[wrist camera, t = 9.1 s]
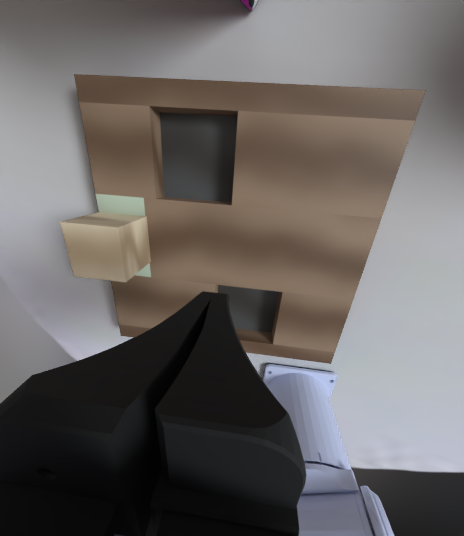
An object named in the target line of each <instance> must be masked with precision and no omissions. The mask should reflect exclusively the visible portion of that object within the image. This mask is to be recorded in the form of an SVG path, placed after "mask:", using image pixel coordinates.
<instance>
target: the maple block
mask: <svg viewBox="0 0 464 536" xmlns="http://www.w3.org/2000/svg"><path fill="white" fill-rule="evenodd" d="M60 224H61V228H62V232H63V236H64V240H65V243H66V247H67V251H68V255H69V259H70V263H71V267H72V271H73V275H74V276H76V277H85V278H93V279H102V280H110V281H119V282H127V281H128V280H129V279H131V278H132V277H133V276H134V275H135V274H137V273H138V272H139V271H140V270H141V269H143V268H144V267H145V266H146V265H147V264H149V263H150V262H151V258H150V247H149V236H148V225H147V216H138V215H127V214H116V213H106V212H98V213H94V214H90V215H86V216H82V217H78V218H74V219H70V220H66V221H62V222H60Z"/></svg>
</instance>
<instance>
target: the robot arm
mask: <svg viewBox="0 0 464 536" xmlns="http://www.w3.org/2000/svg"><path fill="white" fill-rule="evenodd" d="M229 299H230V296H229V295H228V294H223V293H214V292H205V291H202V292H201V293H200V294H198V295H197V296H196V297H195V298H193V299H192V300H191V301H190V302H189V303H187V304H186V305H185V306H184V307H182V308H181V309H180V310H178V311H177V312H176V313H174V314H173V315H171V316H170V317H169V318H167V319H166V320H164V321H163V322H161V323H160V324H158V325H156V326H155V327H153V328H151V329H149V330H148V331H146V332H144V333H142V334H140V335H138V336H137V337H134V338H132V339H130V340H128V341H126V342H124V343H122V344H119V345H117V346H115V347H113V348H111V349H108V350H106V351H103V352H101V353H98V354H96V355H93V356H90V357H88V358H85V359H82V360H79V361H76V362H74V363H70V364H67V365H64V366H61V367H58V368H54V369H52V370H48V371H45V372H42V373H38V374H35V375H32V376H31V377H30V378H29V379H27V380H26V381H25V382H24V383H23V384H22V385H21V386H20V387H19V388H17V389H16V390H15V391H14V392H13V393H12V394H11V395H10V396H8V397H7V398H6V399H5V400H4V401H3V402H2V403H1V404H0V536H394V534H393V532H392V529H391V526H390V524H389V521H388V518H387V516H386V513H385V511H384V509H383V506H382V504H381V501H380V499H379V497H378V496H377V495H376V494H374V492H372V491H370V489H369V487H368V486H361V490H362V494H363V497H364V500H365V503H366V504H365V506H366V509H367V512H368V515H367V513H366V509H365V506H364V503H363V500H362V497H361V494H360V491H359V488H358V485H357V482H356V479H355V477H354V474H353V471H352V470H351V466H350V463H349V460H348V457H347V454H346V451H345V447H344V444H343V441H342V438H341V435H340V432H339V429H338V425H337V422H336V419H335V416H334V413H333V410H332V406H331V403H330V400H329V399H330V396H331V394H332V391H333V388H334V386H335V383H336V380H337V375H336V374H335V373H333V372H326V371H319V370H311V369H304V368H297V367H289V366H282V365H275V364H267V365H266V367H265V373H264V378H263V380H262V379H261V377H260V376H259V374H258V373H257V371H256V369H255V368H254V366H253V365H252V363H251V361H250V360H249V358H248V356H247V354H246V352H245V351H244V349H243V346H242V344H241V342H240V340H239V338H238V335H237V333H236V330H235V327H234V324H233V321H232V317H231V313H230V308H229ZM269 371H270V372H269ZM368 516H369V518H368ZM369 519H370V522H371V525H372V528H371V525H370V522H369Z"/></svg>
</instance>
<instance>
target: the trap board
mask: <svg viewBox="0 0 464 536" xmlns="http://www.w3.org/2000/svg"><path fill="white" fill-rule="evenodd" d="M74 76H75V82H76V87H77V93H78V99H79V104H80V110H81V115H82V121H83V127H84V132H85V138H86V143H87V149H88V154H89V160H90V166H91V171H92V177H93V182H94V188H95V194H96V199H97V205H98V210H99V212H106V213H116V214H127V215H138V216H147V225H148V236H149V247H150V258H151V262H150V263H149V264H147V265H146V266H145V267H144V268H143V269H141V270H140V271H139V272H138V273H137V274H135V275H134V276H133V277H132V278H131V279H129V280H128V281H127V282H119V281H111V283H112V289H113V294H114V300H115V305H116V311H117V316H118V322H119V328H120V333H121V336H127V337H137V336H138V335H140V334H142V333H144V332H146V331H148V330H149V329H151V328H153V327H155V326H156V325H158V324H160V323H161V322H163V321H164V320H166V319H167V318H169V317H170V316H171V315H173V314H174V313H176V312H177V311H178V310H180V309H181V308H182V307H184V306H185V305H186V304H187V303H189V302H190V301H191V300H192V299H193V298H195V297H196V296H197V295H198V294H200V293H201V292H202V291H205V292H214V293H223V294H228V295H229V296H230V299H229V308H230V313H231V317H232V321H233V324H234V327H235V330H236V333H237V335H238V338H239V340H240V342H241V344H242V346H243V349H244V351H245V352H247V353H255V354H262V355H270V356H277V357H285V358H292V359H300V360H307V361H315V362H322V363H330V364H331V362H332V359H333V356H334V353H335V350H336V347H337V345H338V342H339V339H340V336H341V333H342V330H343V327H344V324H345V321H346V319H347V316H348V313H349V310H350V307H351V304H352V301H353V298H354V296H355V293H356V290H357V287H358V284H359V281H360V278H361V275H362V273H363V270H364V267H365V264H366V261H367V258H368V255H369V252H370V249H371V247H372V244H373V241H374V238H375V235H376V232H377V229H378V226H379V224H380V221H381V218H382V215H383V212H384V209H385V206H386V203H387V201H388V198H389V195H390V192H391V189H392V186H393V183H394V180H395V178H396V175H397V172H398V169H399V166H400V163H401V160H402V157H403V154H404V152H405V149H406V146H407V143H408V140H409V137H410V134H411V131H412V129H413V126H414V123H415V120H416V117H417V114H418V111H419V108H420V106H421V103H422V100H423V97H424V94H425V91H426V90H405V89H383V88H361V87H340V86H318V85H296V84H274V83H252V82H231V81H209V80H187V79H165V78H144V77H122V76H100V75H78V74H74Z"/></svg>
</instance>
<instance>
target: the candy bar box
mask: <svg viewBox="0 0 464 536" xmlns="http://www.w3.org/2000/svg"><path fill="white" fill-rule="evenodd" d="M240 1H241V2H242V3H243V4H244V5H245V6H246V7H247V8H249V9H250V10H251V11H253V10H254V8H255V6H256V5H257V3H258V1H259V0H240Z"/></svg>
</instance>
